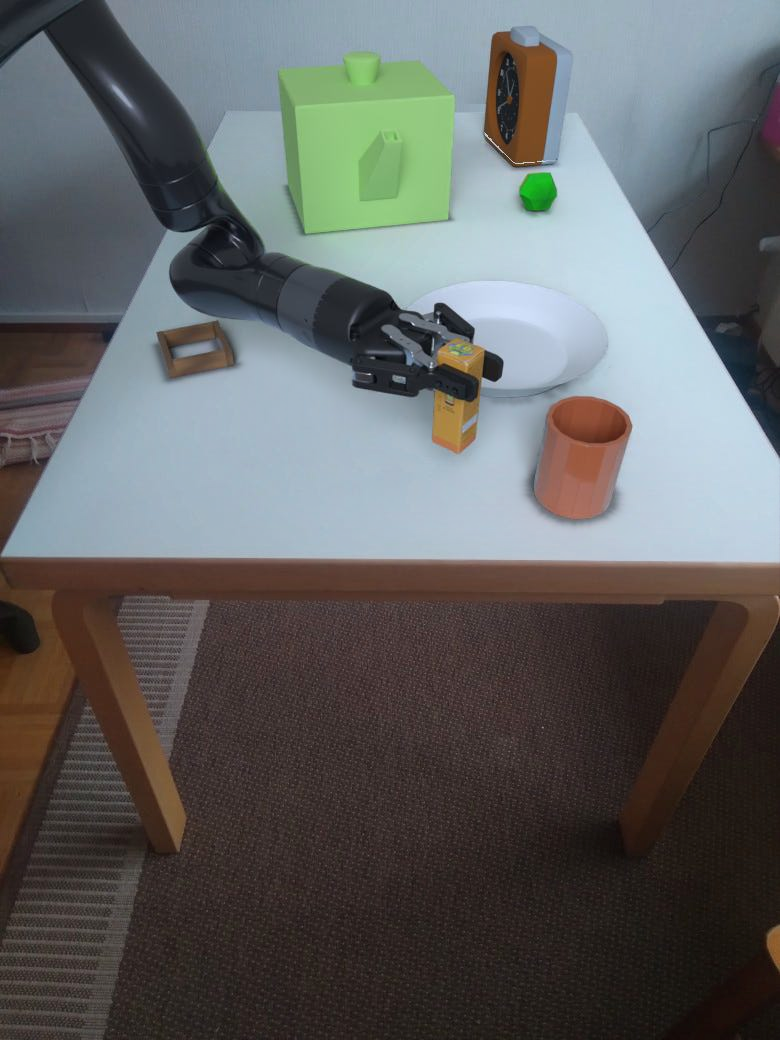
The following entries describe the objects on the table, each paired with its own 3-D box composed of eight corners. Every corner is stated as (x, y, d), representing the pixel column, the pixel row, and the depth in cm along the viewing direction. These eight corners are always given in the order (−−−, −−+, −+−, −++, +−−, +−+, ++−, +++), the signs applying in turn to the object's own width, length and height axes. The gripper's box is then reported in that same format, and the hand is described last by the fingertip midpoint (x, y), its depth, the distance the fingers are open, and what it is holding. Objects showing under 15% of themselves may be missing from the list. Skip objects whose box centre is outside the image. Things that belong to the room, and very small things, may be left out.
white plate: (593, 432, 80) (599, 405, 77) (374, 396, 85) (373, 369, 82) (608, 319, 97) (614, 294, 94) (425, 294, 102) (426, 270, 99)
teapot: (313, 257, 110) (301, 95, 95) (283, 173, 134) (270, 33, 119) (463, 241, 114) (475, 83, 98) (408, 162, 138) (410, 25, 123)
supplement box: (479, 438, 70) (488, 347, 62) (458, 456, 68) (465, 366, 60) (450, 424, 71) (456, 334, 64) (429, 442, 69) (433, 352, 62)
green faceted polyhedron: (552, 169, 115) (529, 150, 121) (520, 199, 117) (500, 178, 123) (573, 201, 120) (550, 180, 126) (542, 229, 122) (521, 207, 128)
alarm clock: (481, 137, 148) (491, 16, 134) (522, 134, 150) (536, 14, 135) (514, 170, 135) (529, 40, 121) (558, 166, 137) (578, 37, 122)
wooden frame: (170, 378, 87) (166, 364, 86) (159, 345, 92) (155, 331, 91) (234, 365, 89) (231, 350, 88) (220, 333, 94) (217, 320, 93)
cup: (558, 527, 70) (575, 454, 63) (519, 478, 75) (532, 406, 68) (626, 507, 72) (649, 434, 65) (583, 460, 77) (601, 388, 70)
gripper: (280, 309, 63) (443, 381, 56) (382, 251, 71) (537, 308, 64) (288, 381, 69) (438, 456, 61) (382, 321, 76) (525, 380, 69)
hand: (487, 380), depth 62 cm, fingers closed on supplement box, 3 cm apart
